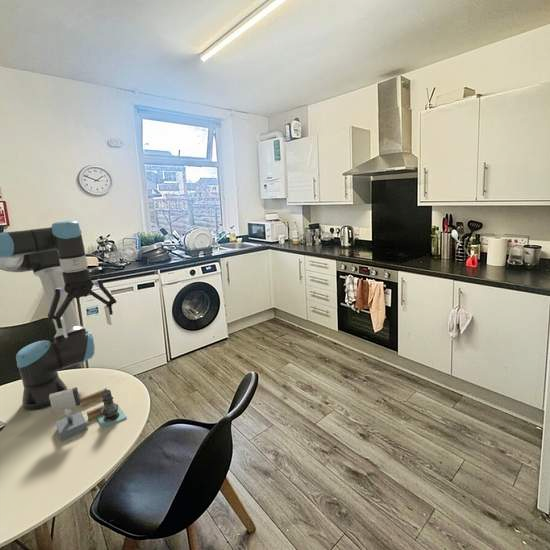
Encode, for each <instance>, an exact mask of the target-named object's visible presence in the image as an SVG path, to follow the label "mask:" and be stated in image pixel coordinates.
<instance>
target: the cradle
mask: <svg viewBox="0 0 550 550" xmlns="http://www.w3.org/2000/svg"><path fill="white" fill-rule="evenodd" d="M104 390H105V388H103V389H101V390H98V391H95V392H94V393H93V392H92V393H91V394H88V395H86V396H83V397H81V398H80V401H81V403H80V406H81V407H82V408H83V407H85V406H88V405H89V404H92V403H95V402H98V401H99V400H103V397H102V392H103V391H104ZM113 403H115V402H114V401H113ZM103 407H104V404H103V405H100V406H97V407H95V408H93V409H91V410H89V411H86V414H87V419H88V421H91V420H93V419H94V420H95V419H97V417H98V416H100V415H103V414H102V413H101V409H102V408H103Z"/></svg>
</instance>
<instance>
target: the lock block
mask: <svg viewBox="0 0 550 550" xmlns="http://www.w3.org/2000/svg"><path fill="white" fill-rule="evenodd" d="M72 416H73V421H72V422H67V418H66V417H65V418H61V419H59V420H57V421H55V426H56V428H57V429H56V430H57V432H58V434H59V437H60V440H61V442H63V441H65V440H68V439H70V438H72V437H73V436H74V437H75V436H77V435H79V434H80V433H83V432H85V431H87V430H88V429H89V428H88V425H87V420H86V419H85V416H84V415H83V413H82V411H78V412H76V413H74V414H72Z"/></svg>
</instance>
